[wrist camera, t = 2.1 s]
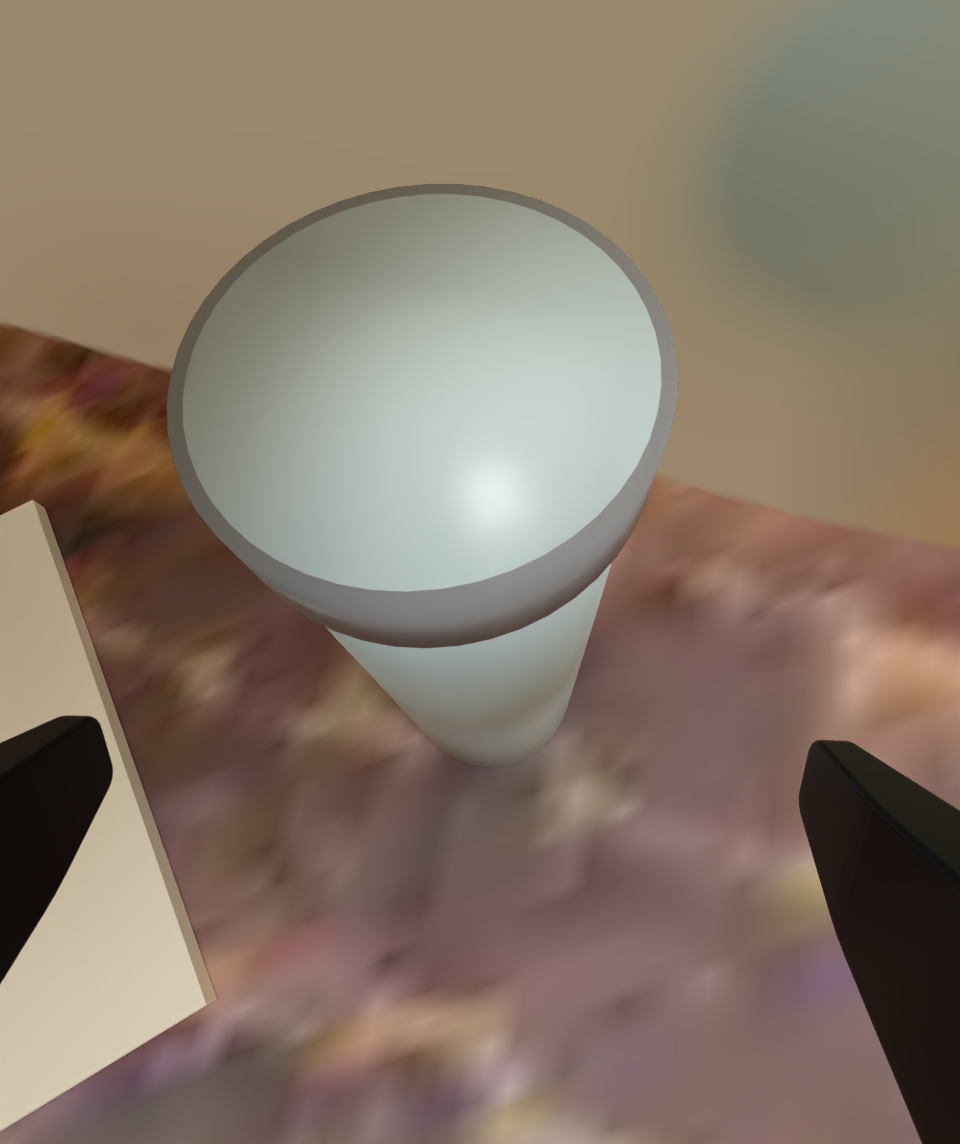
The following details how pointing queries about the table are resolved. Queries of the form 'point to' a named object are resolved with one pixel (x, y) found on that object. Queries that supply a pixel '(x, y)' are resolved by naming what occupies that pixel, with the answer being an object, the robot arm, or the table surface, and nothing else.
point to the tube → (433, 442)
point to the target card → (83, 859)
